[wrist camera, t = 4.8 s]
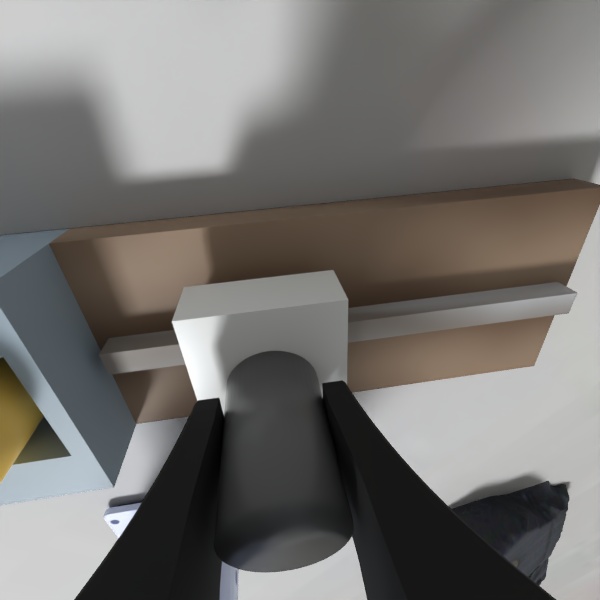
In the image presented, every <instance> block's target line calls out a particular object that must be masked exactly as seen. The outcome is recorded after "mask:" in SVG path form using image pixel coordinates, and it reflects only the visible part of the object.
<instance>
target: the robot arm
mask: <svg viewBox="0 0 600 600" xmlns="http://www.w3.org/2000/svg"><path fill="white" fill-rule="evenodd" d="M322 390H323V402H324V406H325V410H326V414H327V418H328V422H329V426H330V430H331V434H332V437H333V441H334V445H335V449H336V454H337V458H338V462H339V466H340V470H341V474H342V478H343V482H344V486H345V490H346V494H347V498H348V502H349V506H350V510H351V514H352V518H353V522H354V531H353V534H352V537H353V540H354V544H355V547H356V551H357V555H358V559H359V563H360V568H361V572H362V577H363V581H364V586H365V591H366V595H367V600H556V599H555V598H553V597H552V596H551V595H550V594H548V593H547V592H546V591H545V590H544V589H542V588H541V587H540V586H539V585H537V584H536V583H535V582H534V581H532V580H531V579H530V578H529V577H528V576H526V575H525V574H524V573H523V572H521V571H520V570H519V569H518V568H516V567H515V566H514V565H513V564H512V563H511V562H510V561H508V560H507V559H506V558H505V557H504V556H503V555H502V554H500V553H499V552H498V551H497V550H496V549H495V548H494V547H492V546H491V545H490V544H489V543H488V542H487V541H486V540H484V539H483V538H482V537H481V536H480V535H479V534H477V533H476V532H475V531H474V530H473V529H472V528H471V527H470V526H468V525H467V524H466V523H465V522H464V521H463V520H462V519H461V518H460V517H459V516H458V515H457V514H456V513H455V512H454V511H453V510H452V509H450V508H449V507H448V506H447V505H446V504H445V503H444V502H443V501H442V500H441V499H440V498H439V497H438V496H437V495H436V494H435V493H434V492H433V491H432V490H431V489H430V488H429V487H428V486H427V485H426V484H425V482H424V481H423V480H422V479H421V478H420V477H419V476H418V475H417V474H416V473H415V472H414V471H413V470H412V468H411V467H410V466H409V465H408V464H407V463H406V462H405V461H404V460H403V458H402V457H401V456H400V455H399V454H398V453H397V451H396V450H395V449H394V448H393V447H392V446H391V444H390V443H389V442H388V441H387V439H386V438H385V437H384V436H383V434H382V433H381V432H380V431H379V429H378V428H377V427H376V426H375V424H374V423H373V422H372V420H371V419H370V418H369V417H368V415H367V414H366V412H365V411H364V410H363V408H362V407H361V405H360V404H359V403H358V401H357V400H356V398H355V397H354V395H353V394H352V392H351V390H350V389H349V387H348V386H347V384H346V383H345V382H344V381H343V380H341V381H334V382H327V383H322ZM223 424H224V414H223V410H222V407H221V403H220V399H219V398H212V399H205V400H198V401H197V402H196V403H195V405H194V407H193V409H192V411H191V413H190V416H189V418H188V420H187V422H186V424H185V426H184V428H183V430H182V432H181V434H180V436H179V438H178V440H177V442H176V444H175V446H174V448H173V449H172V451H171V453H170V455H169V457H168V459H167V460H166V462H165V464H164V466H163V468H162V469H161V471H160V473H159V475H158V476H157V478H156V480H155V482H154V483H153V485H152V487H151V488H150V490H149V491H148V493H147V495H146V496H145V498H144V500H143V501H142V503H136V504H130V505H124V506H118V507H112V508H109V509H107V510H106V512H105V514H104V519H105V520H106V522H107V523H108V525H109V526H110V527H111V529H112V530H113V531H114V533H115V534H116V536H117V537H118V538H119V539H118V540H117V541H116V543H115V544H114V546H113V547H112V549H111V550H110V552H109V553H108V554H107V556H106V557H105V559H104V560H103V562H102V563H101V564H100V566H99V567H98V568H97V570H96V571H95V572H94V574H93V575H92V577H91V578H90V579H89V581H88V582H87V583H86V585H85V586H84V587H83V589H82V590H81V591H80V593H79V594H78V595H77V597H76V598H75V599H74V600H238V570H239V569H237V568H234V567H232V566H229V565H227V564H226V563H224V562H223V561H221V560H220V559H219V558H218V557H217V555H216V553H215V550H214V536H215V524H216V511H217V499H218V486H219V474H220V461H221V449H222V436H223Z"/></svg>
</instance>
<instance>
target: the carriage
mask: <svg viewBox="0 0 600 600" xmlns="http://www.w3.org/2000/svg"><path fill="white" fill-rule="evenodd" d="M172 324H173V327H174V330H175V333H176V336H177V339H178V342H179V345H180V349H181V352H182V355H183V358H184V361H185V364H186V367H187V370H188V373H189V377H190V380H191V383H192V386H193V389H194V392H195V395H196V398H197V401H198V400H205V399H212V398H219V399H220V403H221V407H222V410H223V414H224V424H223V436H222V449H221V461H220V474H219V486H218V499H217V511H216V524H215V536H214V550H215V553H216V555H217V557H218V558H219V559H220V560H221V561H223V562H224V563H226V564H227V565H229V566H232V567H234V568H237V569H241V570H245V571H252V572H279V571H287V570H293V569H297V568H301V567H305V566H308V565H311V564H314V563H317V562H319V561H322V560H324V559H326V558H328V557H329V556H331V555H333V554H335V553H336V552H337V551H339V550H340V549H341V548H342V547H343V546H345V545H346V543H347V542H348V541H349V540H350V538H351V537H352V534H353V531H354V522H353V518H352V514H351V510H350V506H349V502H348V498H347V494H346V490H345V486H344V482H343V478H342V474H341V470H340V466H339V462H338V458H337V454H336V449H335V445H334V441H333V437H332V434H331V430H330V426H329V422H328V418H327V414H326V410H325V406H324V402H323V390H322V383H327V382H334V381H341V380H343V381H344V382H345V383H346V384H347V352H348V298H347V296H346V294H345V292H344V290H343V288H342V286H341V284H340V282H339V280H338V278H337V276H336V274H335V272H334V270H328V271H319V272H310V273H302V274H293V275H284V276H276V277H267V278H259V279H250V280H241V281H233V282H224V283H215V284H207V285H198V286H189V287H184V288H183V291H182V294H181V297H180V300H179V302H178V305H177V308H176V311H175V314H174V317H173V319H172Z"/></svg>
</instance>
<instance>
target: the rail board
mask: <svg viewBox="0 0 600 600" xmlns="http://www.w3.org/2000/svg"><path fill="white" fill-rule="evenodd" d="M599 205H600V185H598V184H594V183H589V182H585V181H581V180H577V179H566V180H556V181H546V182H536V183H526V184H516V185H505V186H495V187H485V188H475V189H465V190H455V191H445V192H435V193H425V194H414V195H404V196H394V197H384V198H374V199H364V200H354V201H344V202H334V203H324V204H313V205H303V206H293V207H283V208H273V209H263V210H253V211H243V212H233V213H222V214H212V215H202V216H192V217H182V218H172V219H162V220H152V221H142V222H131V223H121V224H111V225H101V226H91V227H81V228H71V229H69V230H67V231H66V232H64V233H63V234H61V235H60V236H59V237H57V238H56V239H54V240H53V241H52V242H50V243H49V245H50V247H51V249H52V251H53V253H54V255H55V257H56V260H57V262H58V264H59V266H60V268H61V270H62V272H63V274H64V276H65V278H66V280H67V282H68V284H69V286H70V288H71V290H72V293H73V295H74V297H75V299H76V301H77V303H78V305H79V307H80V309H81V311H82V313H83V315H84V317H85V319H86V321H87V323H88V326H89V328H90V330H91V332H92V334H93V336H94V338H95V340H96V342H97V344H98V346H99V348H100V350H101V352H100V353H99V356H100V358H101V360H102V362H103V364H104V366H105V368H106V370H107V372H108V374H109V375H111V374H112V375H113V377H114V379H115V381H116V383H117V385H118V387H119V390H120V392H121V394H122V396H123V398H124V400H125V402H126V404H127V406H128V408H129V410H130V412H131V414H132V416H133V418H134V420H135V423H136V424H139V423H146V422H153V421H160V420H167V419H174V418H180V417H187V416H190V413H191V411H192V409H193V407H194V405H195V403H196V402H197V398H196V395H195V392H194V389H193V386H192V383H191V380H190V377H189V373H188V370H187V367H186V364H185V361H184V358H183V355H182V352H181V349H180V345H179V342H178V339H177V336H176V333H175V330H174V327H173V324H172V319H173V317H174V314H175V311H176V308H177V305H178V302H179V300H180V297H181V294H182V291H183V288H184V287H189V286H198V285H207V284H215V283H224V282H233V281H241V280H250V279H259V278H267V277H276V276H284V275H293V274H302V273H310V272H319V271H328V270H334V272H335V274H336V276H337V278H338V280H339V282H340V284H341V286H342V288H343V290H344V292H345V294H346V296H347V298H348V352H347V386H348V387H349V389H350V390H351V392H358V391H365V390H372V389H379V388H386V387H393V386H399V385H406V384H413V383H420V382H427V381H434V380H441V379H447V378H454V377H461V376H468V375H475V374H482V373H488V372H495V371H502V370H509V369H516V368H523V367H530V366H534V365H535V362H536V360H537V357H538V355H539V352H540V350H541V347H542V345H543V342H544V340H545V338H546V335H547V333H548V330H549V328H550V325H551V323H552V320H553V318H554V315H559V314H567V313H569V311H570V309H571V307H572V304H573V302H574V300H575V297H576V295H577V293H576V292H575V291H573V290H571V289H570V288H568V287H566V286H567V283H568V281H569V279H570V276H571V274H572V271H573V269H574V266H575V264H576V261H577V259H578V256H579V254H580V251H581V249H582V247H583V244H584V242H585V239H586V237H587V234H588V232H589V229H590V227H591V224H592V222H593V220H594V217H595V215H596V212H597V210H598V207H599Z"/></svg>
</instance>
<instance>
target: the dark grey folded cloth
mask: <svg viewBox="0 0 600 600" xmlns="http://www.w3.org/2000/svg"><path fill="white" fill-rule="evenodd" d="M568 502H569V495H568V492H567V489H566V485H557V486H555V487H553V486H550V485H549V481H546V482H543V483H540V484H538V485H535V486H532V487H529V488H525V489H522V490H519V491H516V492H513V493H510V494H507V495H500V496H491V497H488V498H484V499H481V500H478V501H474V502H472V503H469V504H466V505H463V506H460V507H457V508H454V509H452V510H453V511H454V512H455V513H456V514H457V515H458V516H459V517H460V518H461V519H462V520H463V521H464V522H465V523H466V524H467V525H468V526H470V527H471V528H472V529H473V530H474V531H475V532H476V533H477V534H479V535H480V536H481V537H482V538H483V539H484V540H486V541H487V542H488V543H489V544H490V545H491V546H492V547H494V548H495V549H496V550H497V551H498V552H499V553H500V554H502V555H503V556H504V557H505V558H506V559H507V560H508V561H510V562H511V563H512V564H513V565H514V566H515V567H516V568H518V569H519V570H520V571H521V572H523V573H524V574H525V575H526V576H528V577H529V578H530V579H531V580H532V581H534V582H535V583H536V584H537V585H540V584H541V582H542V581H543V580H544V579H545V577H546V570H547V565H548V558H549V556H550V555H551V553H552V551H553V549H554V547H555V545H556V543H557V541H558V540H559V538H560V535H561V534H560V533H561V532H562V528H563V525H564V521H565V516H566V512H567V510H568Z"/></svg>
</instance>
